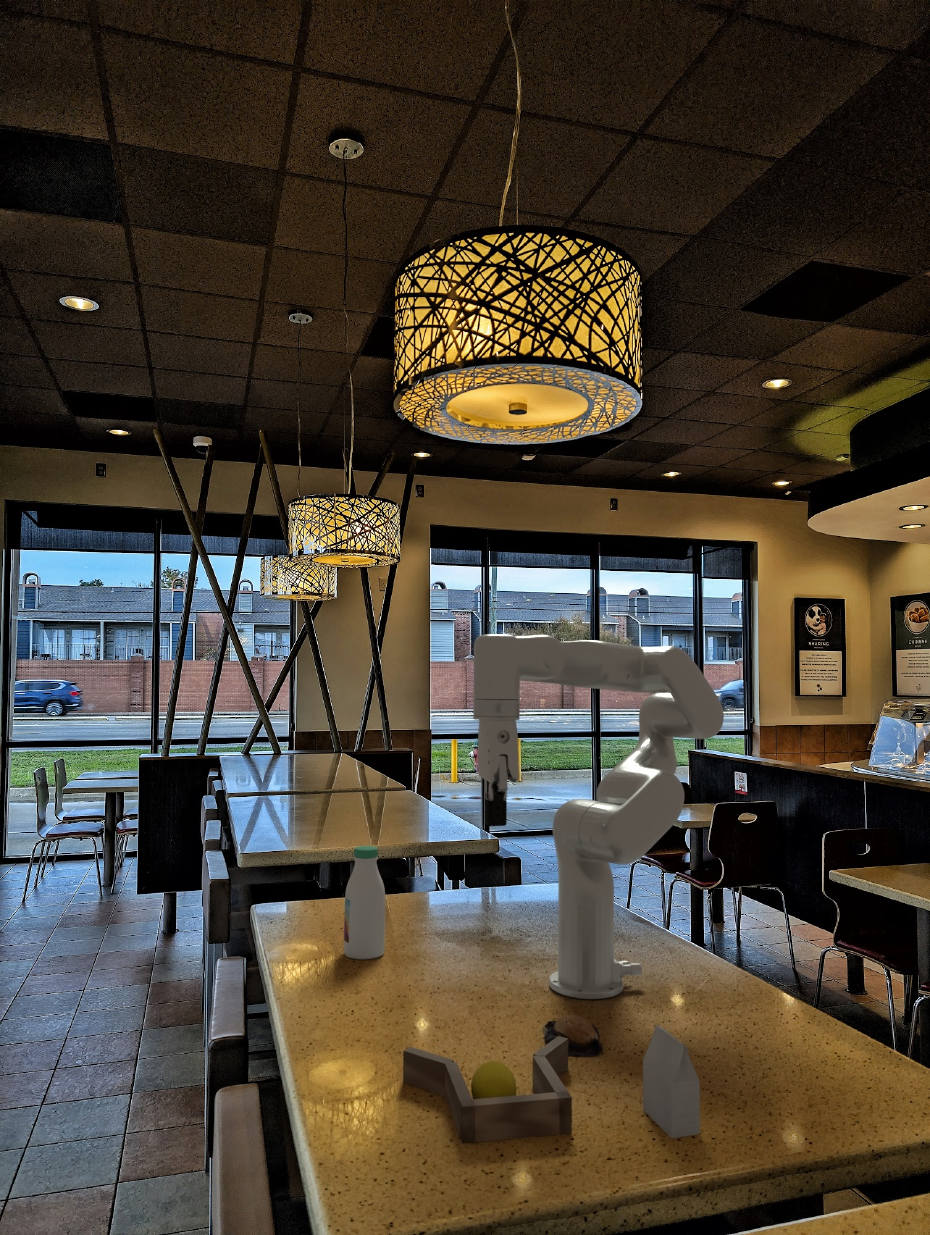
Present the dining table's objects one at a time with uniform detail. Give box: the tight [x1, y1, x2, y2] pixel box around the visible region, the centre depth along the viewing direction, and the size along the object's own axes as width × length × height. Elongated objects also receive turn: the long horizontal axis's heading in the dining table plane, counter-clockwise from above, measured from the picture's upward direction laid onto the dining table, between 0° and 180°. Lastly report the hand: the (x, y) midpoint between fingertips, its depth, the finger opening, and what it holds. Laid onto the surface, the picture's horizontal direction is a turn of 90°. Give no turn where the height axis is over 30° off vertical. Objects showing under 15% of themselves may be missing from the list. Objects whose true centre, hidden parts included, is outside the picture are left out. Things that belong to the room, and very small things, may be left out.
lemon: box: [470, 1060, 517, 1099], centre depth 106 cm, size 6×6×8 cm
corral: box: [402, 1036, 573, 1144], centre depth 108 cm, size 22×17×4 cm
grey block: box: [642, 1024, 701, 1139], centre depth 104 cm, size 4×7×10 cm, turn 17°
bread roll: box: [542, 1015, 604, 1058], centre depth 126 cm, size 11×8×4 cm
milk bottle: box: [343, 845, 386, 960], centre depth 166 cm, size 8×8×20 cm
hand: (495, 825), depth 139 cm, fingers closed
